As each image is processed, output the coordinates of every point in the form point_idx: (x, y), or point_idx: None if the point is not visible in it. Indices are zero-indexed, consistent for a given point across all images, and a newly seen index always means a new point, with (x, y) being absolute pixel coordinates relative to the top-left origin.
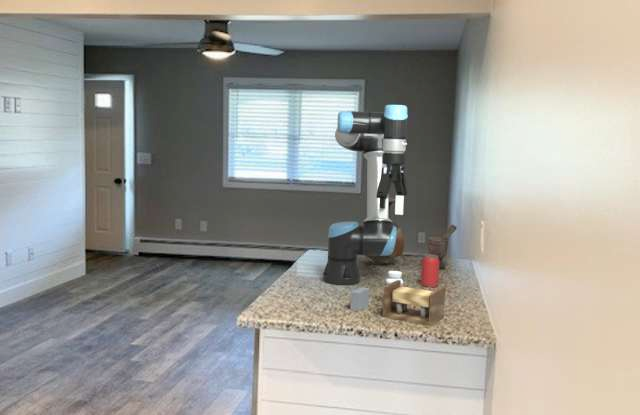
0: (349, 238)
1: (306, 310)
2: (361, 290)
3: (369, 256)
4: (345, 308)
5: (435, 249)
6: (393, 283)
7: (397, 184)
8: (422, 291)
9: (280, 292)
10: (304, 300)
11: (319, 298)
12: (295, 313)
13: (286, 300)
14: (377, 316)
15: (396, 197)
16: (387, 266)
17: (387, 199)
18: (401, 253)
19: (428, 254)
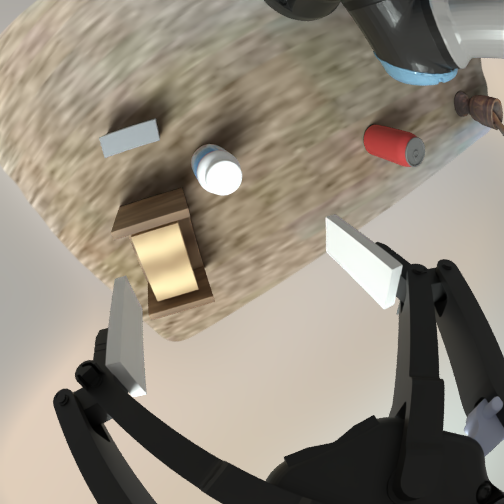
0: None
1: (42, 90)
2: (128, 142)
3: None
4: (106, 121)
5: (478, 110)
6: (149, 227)
7: (401, 365)
8: (178, 274)
9: None
10: (94, 29)
11: (129, 33)
12: (17, 98)
13: (70, 14)
14: (115, 198)
15: (382, 267)
16: None
17: (135, 392)
18: None
19: (422, 142)
